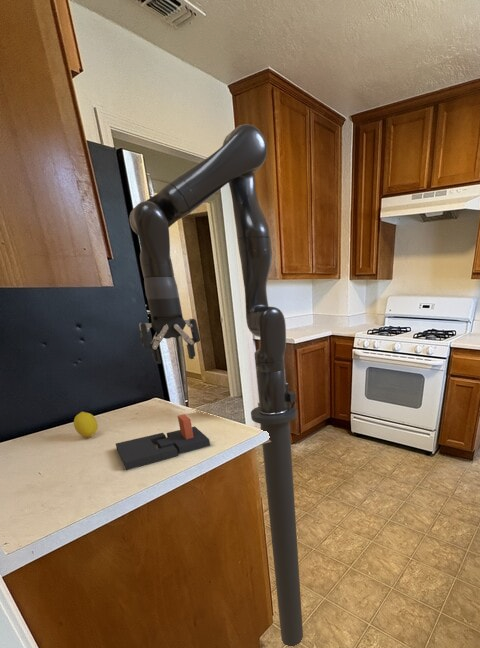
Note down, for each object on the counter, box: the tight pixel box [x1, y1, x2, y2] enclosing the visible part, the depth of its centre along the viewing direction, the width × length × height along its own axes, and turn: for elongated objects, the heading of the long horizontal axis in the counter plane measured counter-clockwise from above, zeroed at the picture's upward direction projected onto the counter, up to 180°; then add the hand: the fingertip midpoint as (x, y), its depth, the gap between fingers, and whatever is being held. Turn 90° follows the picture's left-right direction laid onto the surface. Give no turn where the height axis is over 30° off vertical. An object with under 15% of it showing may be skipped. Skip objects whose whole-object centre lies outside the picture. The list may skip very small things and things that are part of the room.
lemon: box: [73, 411, 99, 439], centre depth 101 cm, size 6×6×8 cm
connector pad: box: [156, 413, 211, 455], centre depth 95 cm, size 12×12×8 cm
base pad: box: [115, 432, 179, 471], centre depth 92 cm, size 12×14×2 cm
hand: (175, 360), depth 95 cm, fingers open, 8 cm apart
